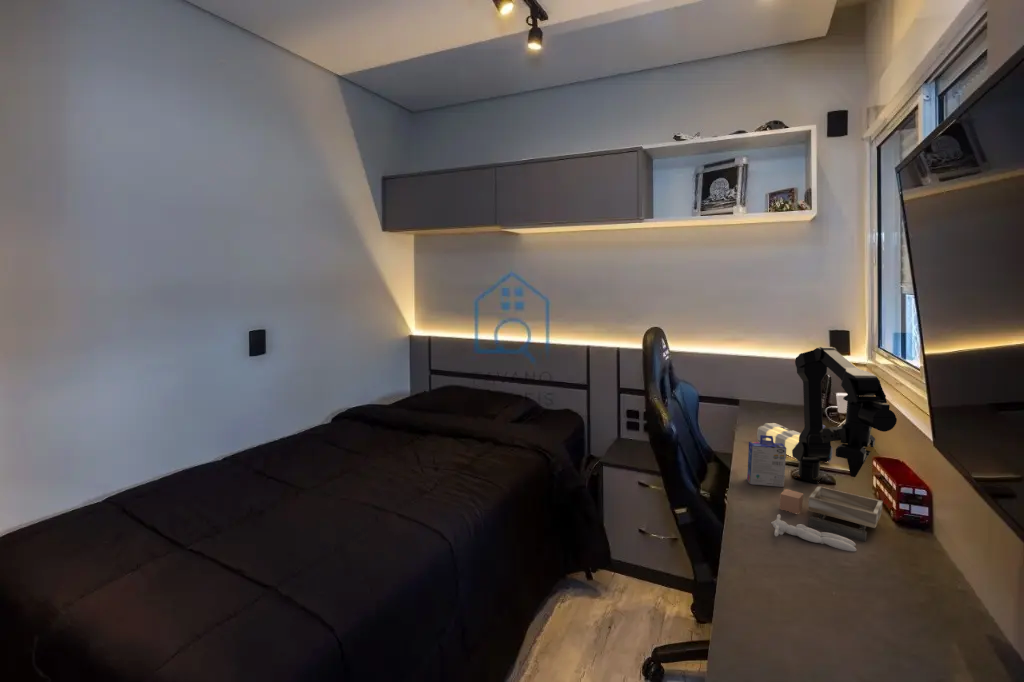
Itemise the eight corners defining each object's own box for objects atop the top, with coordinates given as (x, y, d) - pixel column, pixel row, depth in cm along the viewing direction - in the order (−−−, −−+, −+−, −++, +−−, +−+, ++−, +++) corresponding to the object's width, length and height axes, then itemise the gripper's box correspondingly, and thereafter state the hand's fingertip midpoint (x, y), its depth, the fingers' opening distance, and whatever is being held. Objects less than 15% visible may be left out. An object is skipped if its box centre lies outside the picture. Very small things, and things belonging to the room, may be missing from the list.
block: (784, 504, 146) (785, 489, 146) (802, 509, 144) (803, 493, 143) (779, 509, 143) (780, 493, 143) (798, 514, 140) (799, 498, 140)
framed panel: (832, 493, 154) (832, 486, 154) (881, 505, 146) (882, 498, 146) (808, 525, 134) (809, 518, 133) (865, 541, 126) (865, 533, 126)
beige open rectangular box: (817, 503, 146) (818, 485, 145) (880, 519, 136) (882, 500, 135) (807, 515, 138) (809, 497, 137) (874, 534, 128) (876, 514, 128)
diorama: (831, 464, 179) (834, 427, 177) (805, 466, 177) (807, 428, 175) (780, 442, 203) (782, 409, 202) (756, 443, 201) (758, 410, 200)
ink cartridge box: (779, 480, 163) (782, 435, 162) (785, 487, 158) (788, 440, 156) (745, 478, 165) (748, 433, 164) (749, 484, 160) (752, 438, 158)
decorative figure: (855, 532, 127) (773, 508, 136) (859, 555, 117) (770, 527, 125) (852, 545, 128) (771, 520, 137) (855, 569, 118) (767, 540, 126)
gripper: (831, 408, 153) (827, 460, 155) (815, 421, 139) (811, 478, 141) (877, 415, 146) (872, 470, 148) (866, 430, 132) (860, 489, 134)
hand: (853, 476), depth 143 cm, fingers closed
